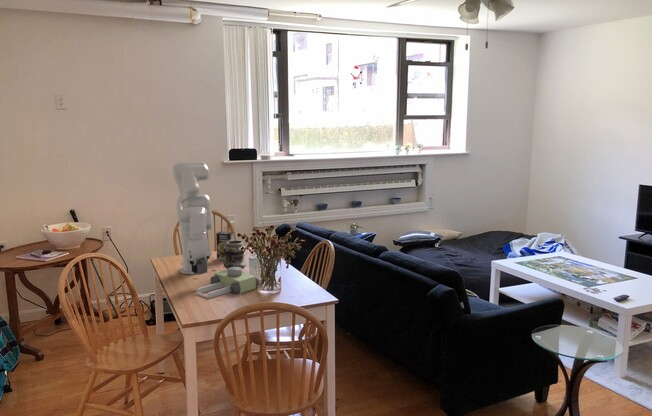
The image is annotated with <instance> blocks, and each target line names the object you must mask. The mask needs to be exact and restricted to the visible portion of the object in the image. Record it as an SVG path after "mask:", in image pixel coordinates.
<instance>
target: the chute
mask: <svg viewBox="0 0 652 416" xmlns="http://www.w3.org/2000/svg"><path fill="white" fill-rule="evenodd" d="M196 265H197V273H195V274H194V275H198V276H200V275H203V274H207V273H208V262H207V263H206V260H205V259H203V258H200V259H197V261H196ZM191 267H192V265H191ZM193 273H194V272H193Z"/></svg>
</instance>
